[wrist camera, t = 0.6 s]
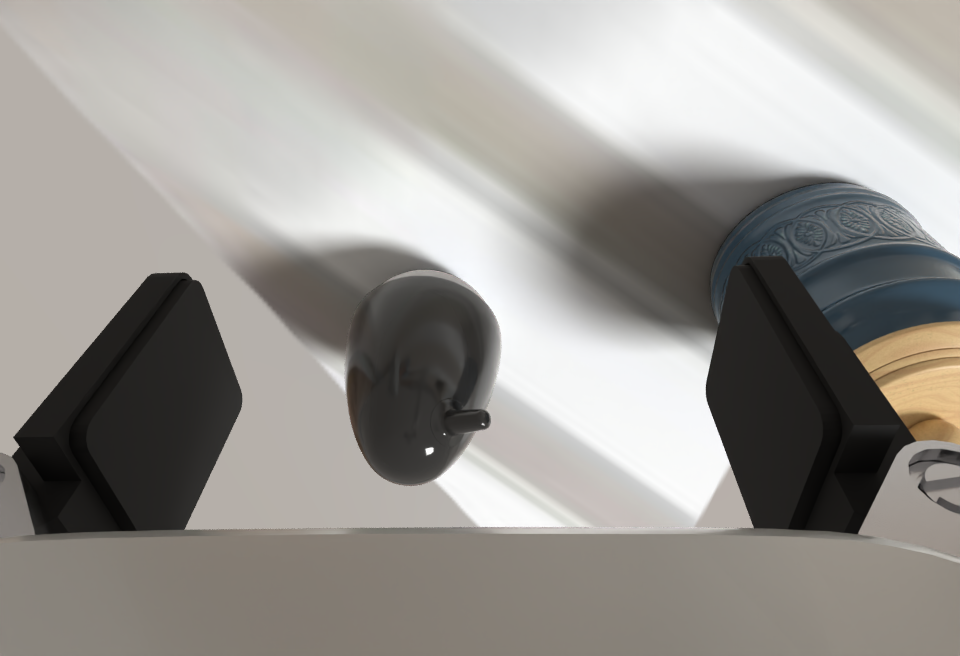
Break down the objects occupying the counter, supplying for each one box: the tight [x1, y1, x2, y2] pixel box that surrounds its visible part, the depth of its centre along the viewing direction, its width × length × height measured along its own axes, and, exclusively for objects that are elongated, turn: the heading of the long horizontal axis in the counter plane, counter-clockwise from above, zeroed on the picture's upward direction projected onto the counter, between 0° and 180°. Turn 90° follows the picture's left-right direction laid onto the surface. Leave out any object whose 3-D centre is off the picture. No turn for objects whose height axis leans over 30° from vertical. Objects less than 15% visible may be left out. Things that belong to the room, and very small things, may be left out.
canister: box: [710, 183, 960, 445], centre depth 36 cm, size 13×13×18 cm
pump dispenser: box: [345, 270, 501, 486], centre depth 40 cm, size 10×10×15 cm
